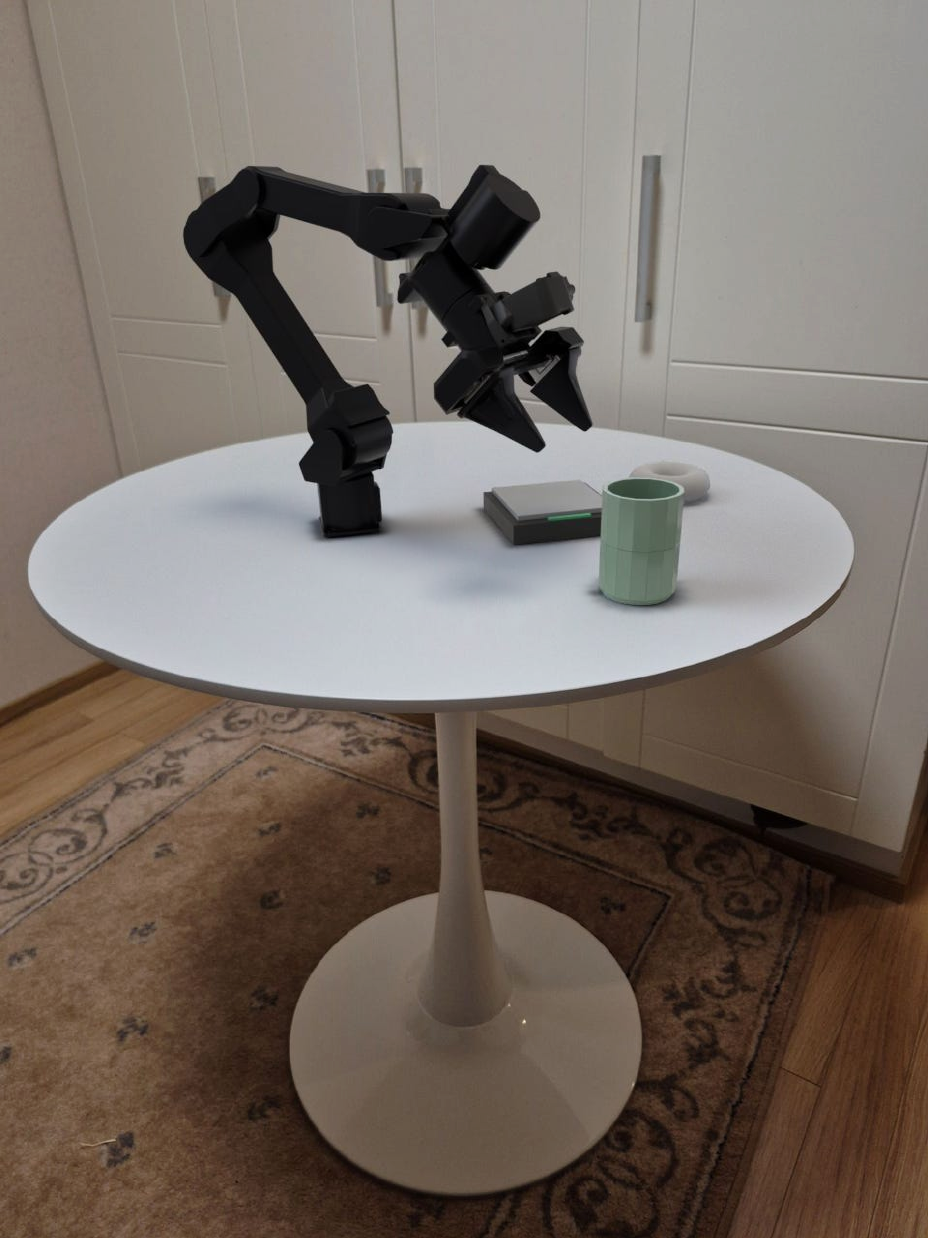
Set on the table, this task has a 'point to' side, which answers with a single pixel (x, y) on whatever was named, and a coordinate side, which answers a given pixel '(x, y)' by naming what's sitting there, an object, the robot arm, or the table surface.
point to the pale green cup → (640, 539)
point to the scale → (545, 511)
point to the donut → (677, 477)
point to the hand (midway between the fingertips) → (566, 438)
